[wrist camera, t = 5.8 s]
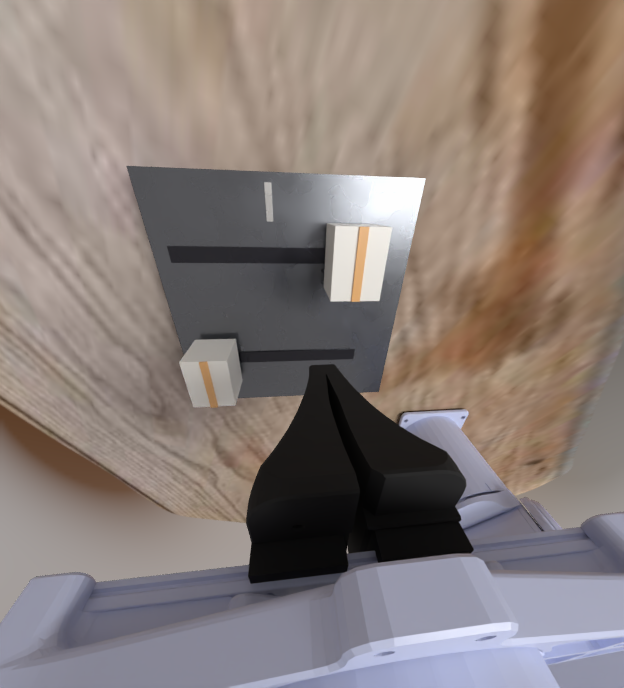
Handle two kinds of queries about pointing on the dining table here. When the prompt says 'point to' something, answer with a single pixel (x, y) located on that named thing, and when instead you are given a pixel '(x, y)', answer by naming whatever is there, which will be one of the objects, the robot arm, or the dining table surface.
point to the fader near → (355, 261)
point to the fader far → (212, 372)
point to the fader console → (274, 267)
